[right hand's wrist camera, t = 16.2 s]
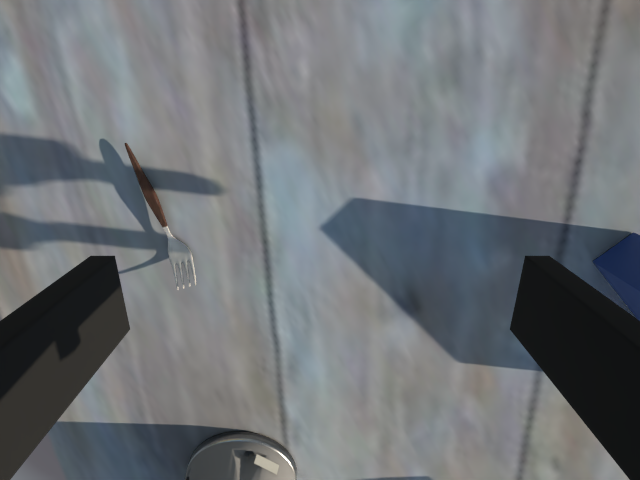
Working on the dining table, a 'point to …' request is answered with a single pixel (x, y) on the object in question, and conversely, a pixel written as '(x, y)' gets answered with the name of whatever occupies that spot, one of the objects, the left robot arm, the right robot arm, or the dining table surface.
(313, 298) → the dining table surface
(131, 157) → the fork
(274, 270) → the dining table surface
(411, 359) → the dining table surface
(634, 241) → the bar
